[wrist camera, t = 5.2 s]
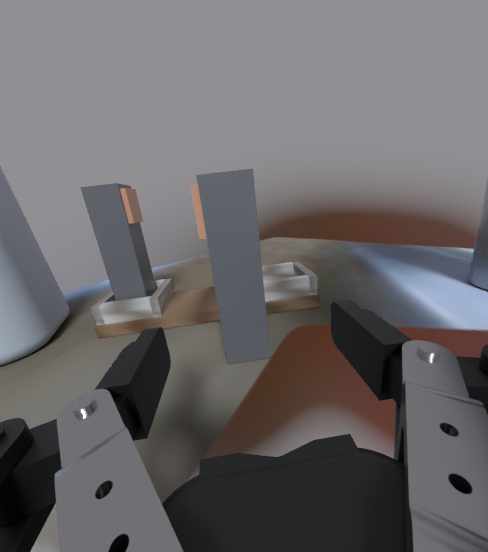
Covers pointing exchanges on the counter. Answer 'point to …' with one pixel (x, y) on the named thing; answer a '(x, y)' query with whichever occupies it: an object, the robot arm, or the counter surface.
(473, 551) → the robot arm
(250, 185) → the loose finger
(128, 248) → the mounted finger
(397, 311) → the counter surface
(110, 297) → the wooden base with sockets
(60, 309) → the grey bottle
